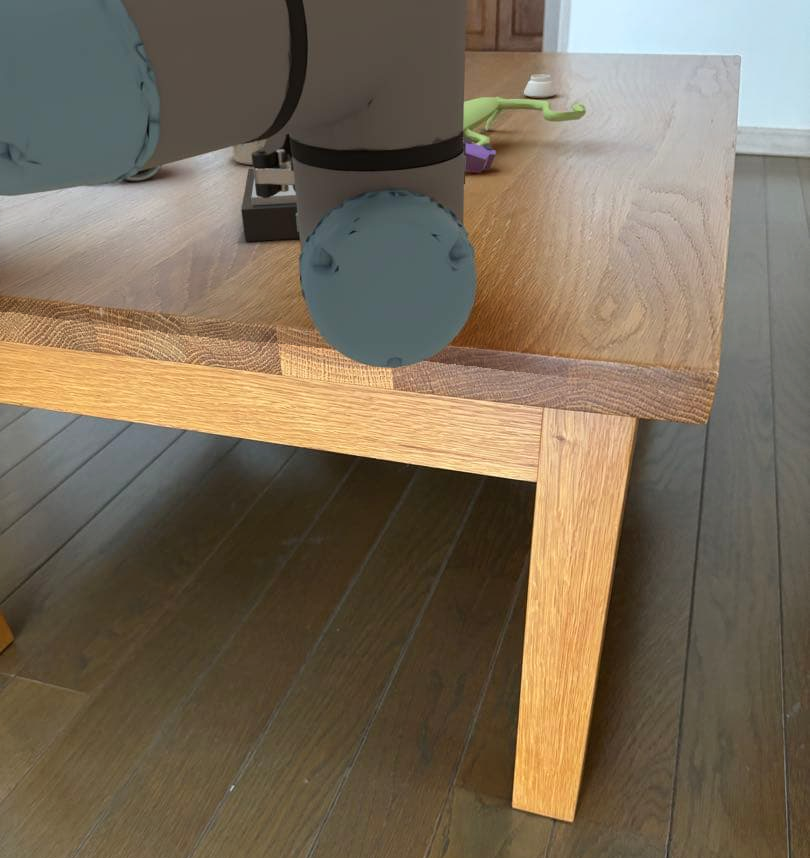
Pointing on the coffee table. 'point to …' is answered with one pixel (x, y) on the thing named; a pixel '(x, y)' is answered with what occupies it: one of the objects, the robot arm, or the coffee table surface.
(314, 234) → the robot arm
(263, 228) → the kitchen scale
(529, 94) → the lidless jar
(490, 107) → the figurine
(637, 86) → the coffee table surface
